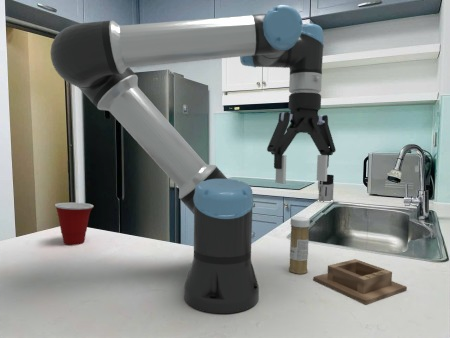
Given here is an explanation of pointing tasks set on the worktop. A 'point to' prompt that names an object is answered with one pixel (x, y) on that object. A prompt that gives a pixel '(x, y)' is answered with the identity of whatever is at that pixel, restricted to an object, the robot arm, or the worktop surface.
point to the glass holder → (326, 189)
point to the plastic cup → (73, 221)
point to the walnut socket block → (360, 281)
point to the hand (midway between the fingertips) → (301, 182)
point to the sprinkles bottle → (299, 244)
